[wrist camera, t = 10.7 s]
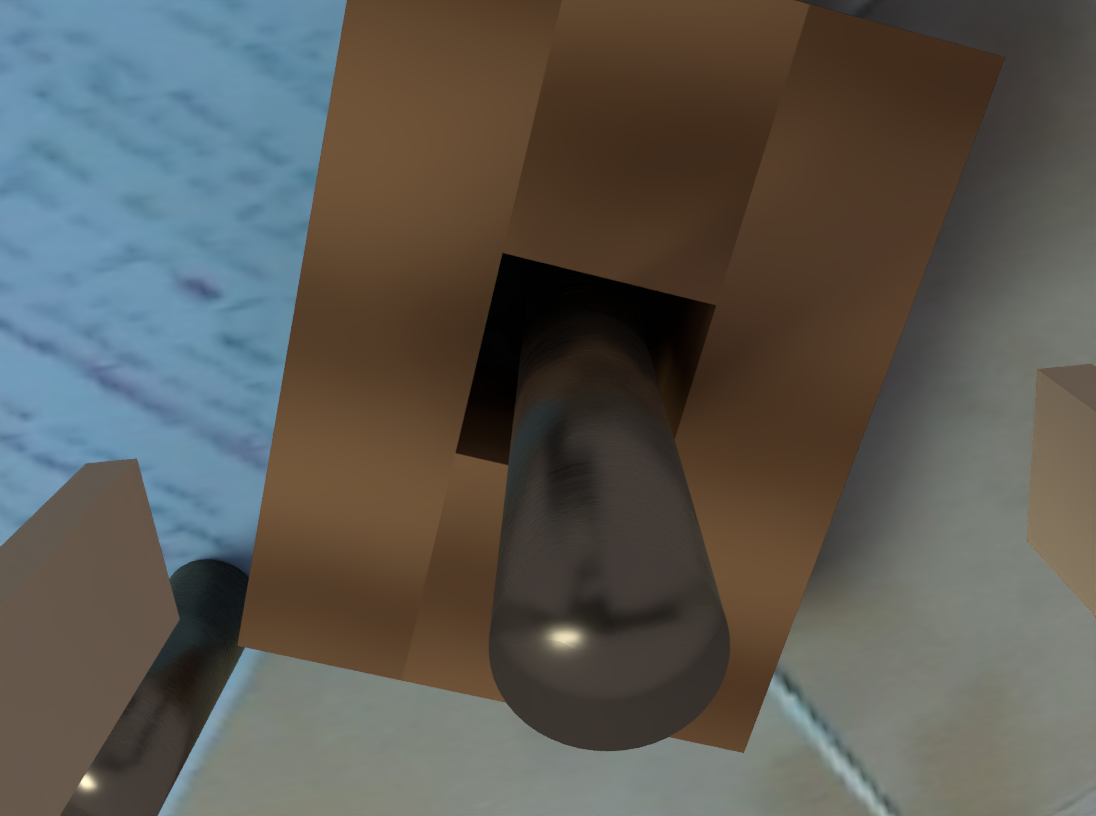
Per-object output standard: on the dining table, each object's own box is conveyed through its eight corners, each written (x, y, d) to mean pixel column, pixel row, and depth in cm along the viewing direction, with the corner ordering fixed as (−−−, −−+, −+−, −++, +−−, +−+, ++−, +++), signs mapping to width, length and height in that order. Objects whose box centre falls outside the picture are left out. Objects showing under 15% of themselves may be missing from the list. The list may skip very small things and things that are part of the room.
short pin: (171, 550, 30) (35, 729, 22) (269, 574, 30) (167, 760, 22) (158, 631, 31) (23, 831, 23) (252, 654, 31) (149, 859, 23)
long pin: (540, 242, 27) (519, 518, 12) (646, 269, 27) (762, 573, 12) (515, 345, 28) (465, 724, 12) (618, 369, 28) (690, 771, 13)
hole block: (410, -82, 24) (366, -116, 18) (903, 51, 25) (1005, 57, 19) (298, 527, 29) (237, 645, 24) (708, 618, 30) (743, 752, 25)
